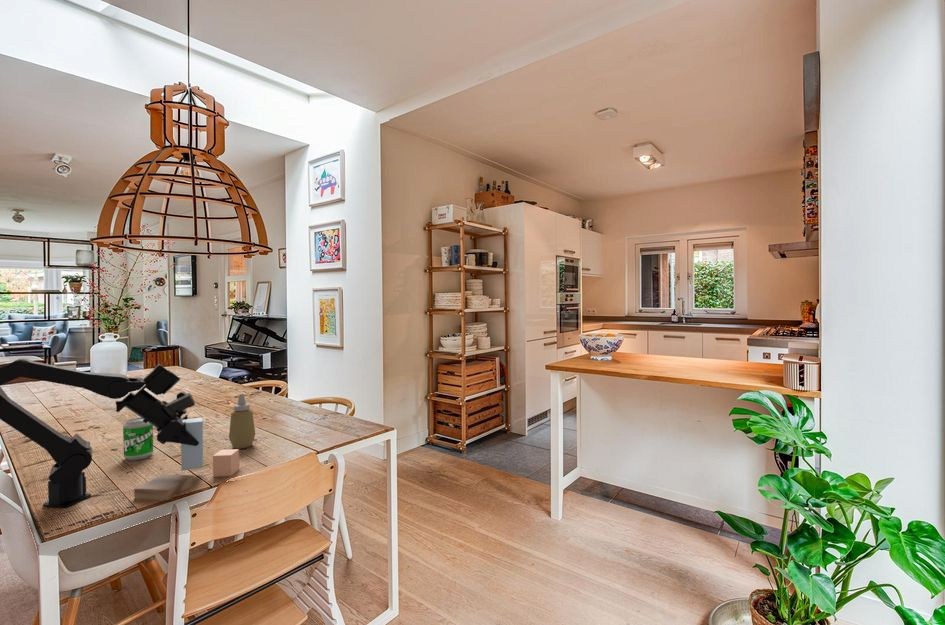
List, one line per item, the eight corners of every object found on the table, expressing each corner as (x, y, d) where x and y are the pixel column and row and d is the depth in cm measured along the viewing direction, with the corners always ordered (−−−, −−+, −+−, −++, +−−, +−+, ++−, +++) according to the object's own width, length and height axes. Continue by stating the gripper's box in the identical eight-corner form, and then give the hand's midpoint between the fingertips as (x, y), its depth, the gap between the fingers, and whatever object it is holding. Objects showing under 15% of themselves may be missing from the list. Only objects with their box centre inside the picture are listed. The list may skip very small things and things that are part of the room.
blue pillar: (181, 470, 119) (180, 423, 119) (182, 465, 124) (182, 419, 123) (202, 467, 122) (202, 421, 122) (203, 461, 126) (202, 417, 126)
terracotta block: (231, 475, 123) (231, 455, 123) (213, 476, 123) (212, 455, 122) (239, 469, 128) (238, 449, 128) (221, 469, 127) (221, 449, 127)
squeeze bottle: (231, 444, 150) (230, 392, 150) (256, 441, 153) (256, 390, 153) (227, 451, 143) (226, 397, 142) (254, 448, 146) (253, 395, 145)
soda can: (122, 457, 138) (121, 419, 138) (151, 451, 143) (150, 415, 143) (125, 463, 133) (124, 424, 132) (155, 457, 138) (154, 419, 137)
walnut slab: (167, 501, 108) (167, 490, 108) (134, 500, 109) (134, 488, 109) (194, 486, 117) (193, 475, 117) (163, 485, 118) (163, 474, 118)
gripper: (171, 391, 112) (221, 427, 118) (177, 380, 128) (220, 412, 134) (134, 425, 108) (187, 461, 114) (144, 409, 124) (190, 441, 130)
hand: (198, 441), depth 123 cm, fingers closed on blue pillar, 5 cm apart
